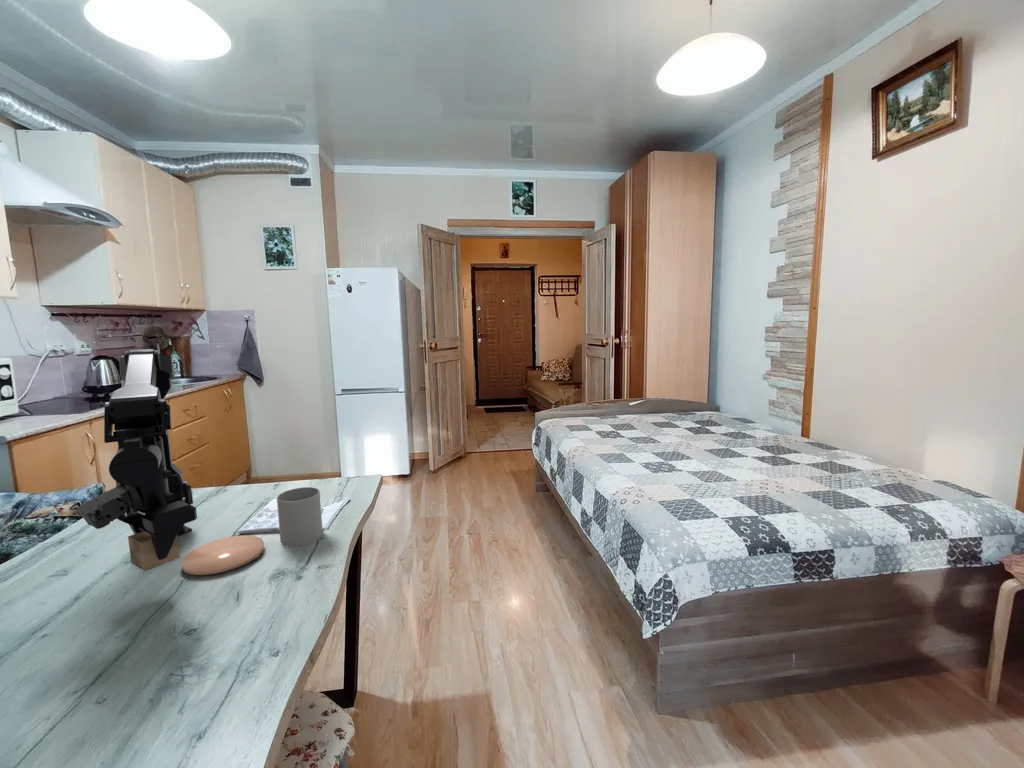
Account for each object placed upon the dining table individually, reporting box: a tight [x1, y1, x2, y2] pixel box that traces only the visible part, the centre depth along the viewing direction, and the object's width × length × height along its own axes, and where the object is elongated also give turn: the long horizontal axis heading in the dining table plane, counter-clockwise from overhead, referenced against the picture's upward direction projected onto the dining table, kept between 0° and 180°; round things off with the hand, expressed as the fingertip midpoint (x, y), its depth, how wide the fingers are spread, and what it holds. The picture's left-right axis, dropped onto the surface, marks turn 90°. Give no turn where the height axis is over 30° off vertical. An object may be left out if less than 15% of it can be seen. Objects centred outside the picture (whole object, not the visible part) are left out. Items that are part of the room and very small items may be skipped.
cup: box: [276, 486, 324, 548], centre depth 98 cm, size 8×8×10 cm
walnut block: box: [127, 531, 180, 572], centre depth 77 cm, size 5×5×5 cm
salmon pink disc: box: [180, 534, 265, 576], centre depth 90 cm, size 14×14×1 cm
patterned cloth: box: [237, 496, 349, 535], centre depth 110 cm, size 19×20×2 cm
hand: (155, 554), depth 77 cm, fingers closed on walnut block, 5 cm apart
